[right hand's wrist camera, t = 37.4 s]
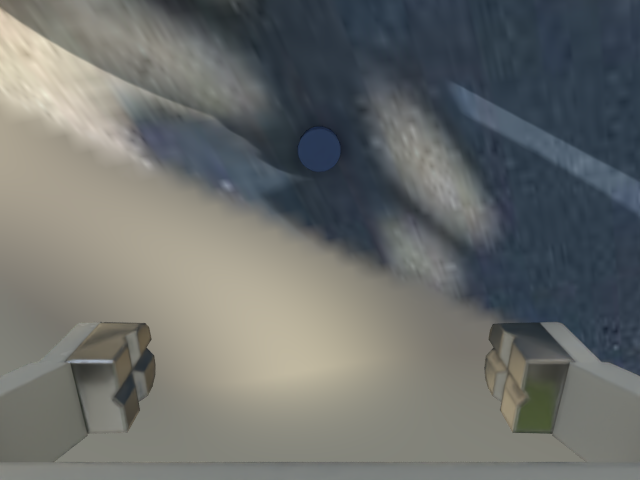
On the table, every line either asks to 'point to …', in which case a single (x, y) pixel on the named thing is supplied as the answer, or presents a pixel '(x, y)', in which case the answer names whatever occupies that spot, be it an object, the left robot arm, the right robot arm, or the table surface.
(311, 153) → the cap
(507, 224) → the table surface
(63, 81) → the table surface
